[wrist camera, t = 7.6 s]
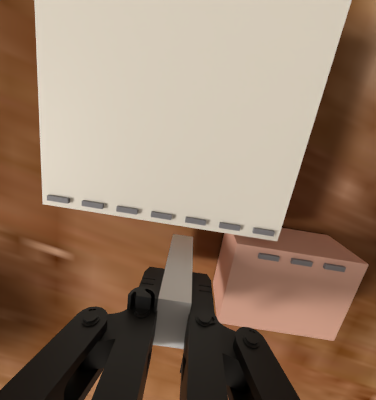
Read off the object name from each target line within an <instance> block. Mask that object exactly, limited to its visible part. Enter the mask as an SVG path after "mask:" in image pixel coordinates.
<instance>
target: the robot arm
mask: <svg viewBox="0 0 376 400" xmlns="http://www.w3.org/2000/svg"><path fill="white" fill-rule="evenodd" d="M192 261H193V237H190V236H183V235H176V234H173V237H172V241H171V246H170V250H169V254H168V259H167V263H166V267H165V269H162V268H155V267H149V268H148V269H147V270H146V271H145V272H144V275H143V278H142V280H141V283H140V285H139V287H137V288H135V289H133V290H132V291H131V292H130V293H129V294H128V305H127V309H126V310H125V311H123V312H120V313H115V314H107V312H106V310H104V309H103V308H101V307H89V308H87V309H84V310H82V311H81V312H80V313H78V314H77V315H76V316H75V317H74V318H73V319H72V320H71V321H70V322H69V323H68V324H67V325H66V326H65V327H64V328H63V329H62V330H61V331H60V332H59V333H58V334H57V335H56V336H55V337H54V338H53V339H52V340H51V341H50V342H49V343H48V344H47V345H46V346H45V347H44V348H43V349H42V350H41V351H40V352H39V353H38V354H37V355H36V356H35V357H34V358H33V359H31V360H30V361H29V362H28V363H27V364H26V365H25V366H24V367H23V368H22V369H21V370H20V371H19V372H18V373H17V374H16V375H15V376H14V377H13V378H12V379H11V380H10V381H9V382H8V383H7V384H6V385H5V386H4V387H3V388H2V389H1V390H0V400H84V399H85V397H86V396H87V394H88V393H89V391H90V390H91V388H92V386H93V385H94V383H95V382H96V380H97V379H98V377H99V376H100V374H101V373H102V375H101V377H100V380H99V382H98V385H97V387H96V390H95V392H94V395H93V397H92V400H142V399H143V394H144V389H145V384H146V379H147V374H148V369H149V364H150V359H151V352H152V346H153V345H159V346H166V347H173V348H180V349H183V348H184V353H183V358H182V364H181V370H180V373H181V386H180V400H228V398H229V400H300V398H299V397H298V395H297V393H296V392H295V390H294V388H293V386H292V385H291V383H290V381H289V380H288V378H287V376H286V374H285V373H284V371H283V369H282V368H281V366H280V364H279V363H278V361H277V359H276V357H275V356H274V354H273V352H272V351H271V349H270V347H269V345H268V344H267V342H266V340H265V339H264V337H263V336H262V335H261V334H260V333H259V332H258V331H256V330H254V329H252V328H250V327H242V328H239V329H238V330H237V331H236V332H235V331H233V330H231V329H229V328H227V327H225V326H223V325H222V324H221V323H220V322H219V321H218V319H217V317H216V316H215V313H214V305H213V296H212V288H211V287H212V286H211V280H210V278H209V277H208V275H207V274H201V273H194V272H192ZM103 369H104V370H103ZM102 371H103V372H102ZM227 395H228V397H227Z"/></svg>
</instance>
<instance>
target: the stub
mask: <svg viewBox="0 0 376 400" xmlns="http://www.w3.org/2000/svg"><path fill="white" fill-rule="evenodd" d="M368 265H369V264H367V263H366V262H365V261H363V260H362V259H361V258H359V257H358V256H356V255H355V254H354V253H352V252H351V251H349V250H348V249H347V248H345V247H344V246H343V245H341V244H340V243H338V242H337V241H336V240H334V239H333V238H331V237H330V236H329V235H324V234H318V233H311V232H305V231H299V230H293V229H286V228H281V231H280V234H279V238H278V241H272V240H265V239H259V238H253V237H246V236H240V235H234V234H228V233H224V236H223V241H222V245H221V250H220V254H219V259H218V263H217V267H216V272H215V276H214V281H213V289H214V297H215V306H216V314H217V319H218V321H219V322H220V323H222V324H229V325H235V326H242V327H250V328H255V329H261V330H268V331H274V332H280V333H287V334H293V335H300V336H306V337H313V338H319V339H326V340H332V341H334V339H335V337H336V335H337V333H338V331H339V328H340V326H341V324H342V322H343V320H344V318H345V315H346V313H347V311H348V309H349V307H350V305H351V302H352V300H353V298H354V296H355V294H356V292H357V289H358V287H359V285H360V283H361V281H362V278H363V276H364V274H365V272H366V270H367V268H368Z"/></svg>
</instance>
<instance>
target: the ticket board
mask: <svg viewBox="0 0 376 400" xmlns="http://www.w3.org/2000/svg"><path fill="white" fill-rule="evenodd" d="M350 4H351V0H35V25H36V50H37V74H38V99H39V124H40V149H41V173H42V198H43V204H46V205H52V206H59V207H65V208H71V209H77V210H84V211H90V212H96V213H102V214H109V215H115V216H121V217H127V218H134V219H140V220H146V221H152V222H159V223H165V224H171V225H178V226H184V227H190V228H196V229H203V230H209V231H215V232H221V233H228V234H234V235H240V236H246V237H253V238H259V239H265V240H272V241H278V238H279V234H280V231H281V228H282V225H283V221H284V218H285V215H286V212H287V208H288V205H289V202H290V199H291V195H292V192H293V189H294V186H295V182H296V179H297V176H298V173H299V169H300V166H301V163H302V160H303V156H304V153H305V150H306V147H307V143H308V140H309V137H310V134H311V130H312V127H313V124H314V121H315V117H316V114H317V111H318V108H319V104H320V101H321V98H322V95H323V91H324V88H325V85H326V82H327V78H328V75H329V72H330V69H331V65H332V62H333V59H334V56H335V52H336V49H337V46H338V43H339V39H340V36H341V33H342V30H343V26H344V23H345V20H346V17H347V13H348V10H349V7H350Z"/></svg>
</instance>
